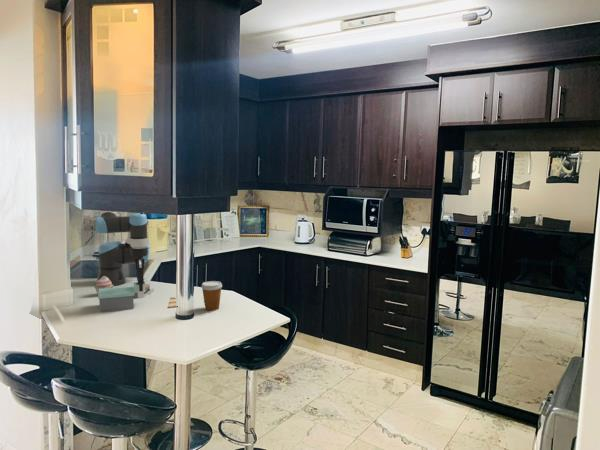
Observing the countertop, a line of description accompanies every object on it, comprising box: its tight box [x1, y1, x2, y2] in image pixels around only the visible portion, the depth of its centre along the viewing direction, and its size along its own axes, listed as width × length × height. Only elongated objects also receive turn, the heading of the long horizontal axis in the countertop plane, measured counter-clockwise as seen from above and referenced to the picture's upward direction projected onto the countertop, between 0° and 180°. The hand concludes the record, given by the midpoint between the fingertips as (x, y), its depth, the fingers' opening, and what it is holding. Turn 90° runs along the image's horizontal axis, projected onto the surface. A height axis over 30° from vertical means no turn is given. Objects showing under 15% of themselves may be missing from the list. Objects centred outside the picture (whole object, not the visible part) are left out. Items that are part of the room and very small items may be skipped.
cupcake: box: [93, 276, 114, 296], centre depth 231 cm, size 9×9×10 cm
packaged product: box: [133, 283, 155, 299], centre depth 232 cm, size 18×5×10 cm
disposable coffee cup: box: [201, 280, 223, 311], centre depth 210 cm, size 10×10×12 cm
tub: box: [98, 296, 134, 313], centre depth 209 cm, size 12×14×7 cm
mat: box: [167, 296, 177, 309], centre depth 217 cm, size 16×18×1 cm
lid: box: [97, 279, 146, 300], centre depth 209 cm, size 13×20×5 cm, turn 112°
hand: (140, 296), depth 212 cm, fingers closed on lid, 3 cm apart
